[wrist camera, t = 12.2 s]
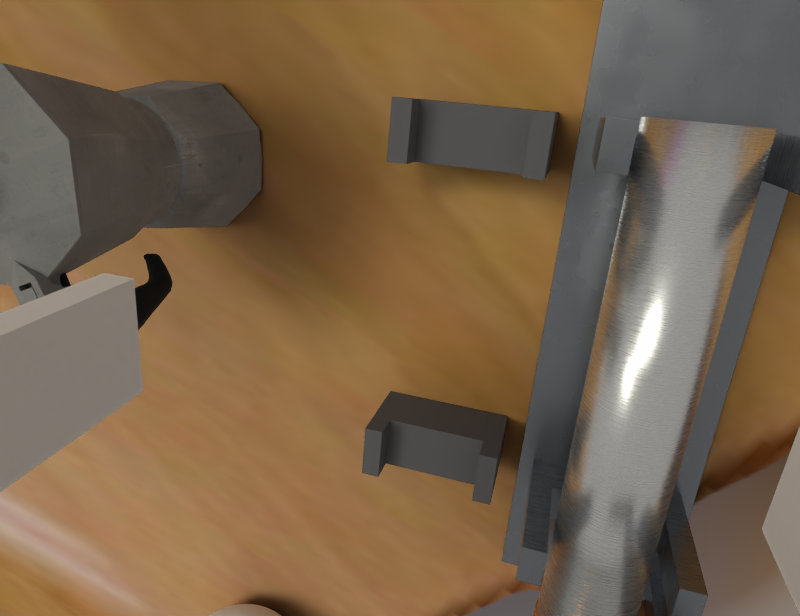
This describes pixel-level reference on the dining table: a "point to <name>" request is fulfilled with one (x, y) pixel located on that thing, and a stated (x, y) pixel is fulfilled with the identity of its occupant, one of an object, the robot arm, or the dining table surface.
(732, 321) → the grey tube stand
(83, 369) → the robot arm
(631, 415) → the tube
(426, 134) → the rest chocks
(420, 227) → the dining table surface
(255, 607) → the ornament
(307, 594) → the dining table surface
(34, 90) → the coffeepot
